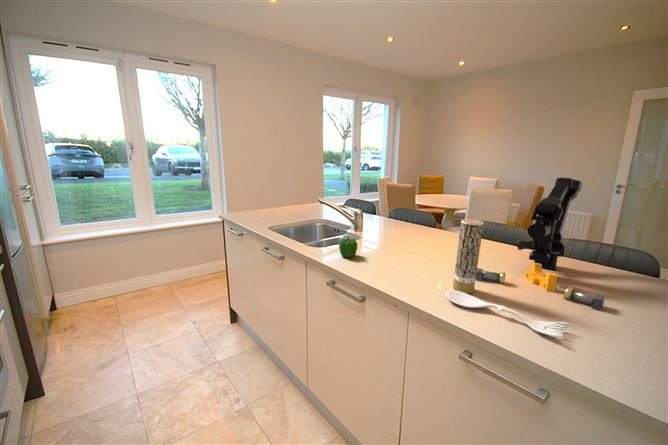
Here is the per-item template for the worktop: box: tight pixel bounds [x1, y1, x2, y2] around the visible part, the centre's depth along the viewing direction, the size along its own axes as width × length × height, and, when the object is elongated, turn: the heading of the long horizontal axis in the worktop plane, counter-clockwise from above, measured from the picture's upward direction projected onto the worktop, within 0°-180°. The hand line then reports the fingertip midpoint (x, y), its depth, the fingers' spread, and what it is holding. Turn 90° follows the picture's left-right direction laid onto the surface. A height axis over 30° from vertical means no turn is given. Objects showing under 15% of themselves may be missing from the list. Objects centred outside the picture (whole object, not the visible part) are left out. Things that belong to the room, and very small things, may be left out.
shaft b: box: [475, 267, 506, 285], centre depth 111 cm, size 10×4×4 cm, turn 62°
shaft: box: [563, 286, 606, 312], centre depth 95 cm, size 10×4×4 cm, turn 42°
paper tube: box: [452, 218, 484, 294], centre depth 101 cm, size 7×7×25 cm
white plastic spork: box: [445, 289, 571, 340], centre depth 87 cm, size 9×32×4 cm, turn 44°
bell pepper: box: [338, 235, 358, 259], centre depth 135 cm, size 8×8×10 cm
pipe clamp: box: [524, 262, 559, 292], centre depth 109 cm, size 12×4×6 cm, turn 171°
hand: (537, 272), depth 117 cm, fingers closed
